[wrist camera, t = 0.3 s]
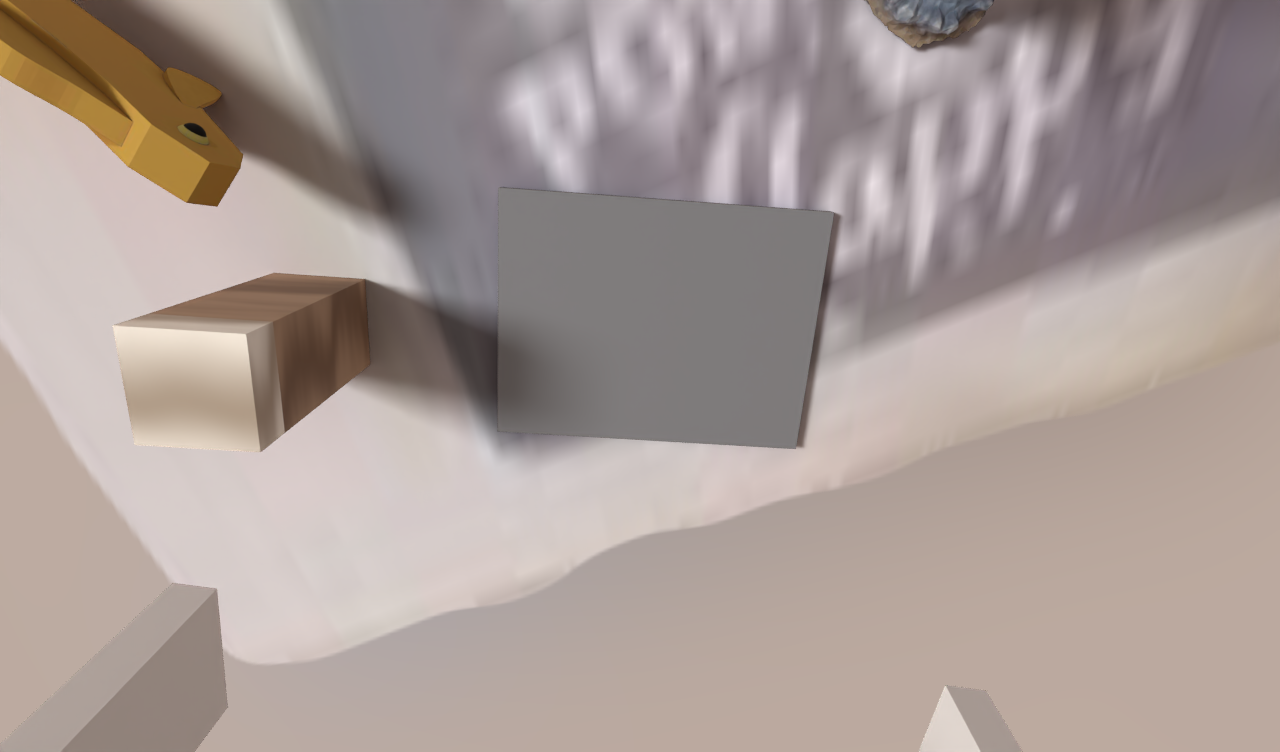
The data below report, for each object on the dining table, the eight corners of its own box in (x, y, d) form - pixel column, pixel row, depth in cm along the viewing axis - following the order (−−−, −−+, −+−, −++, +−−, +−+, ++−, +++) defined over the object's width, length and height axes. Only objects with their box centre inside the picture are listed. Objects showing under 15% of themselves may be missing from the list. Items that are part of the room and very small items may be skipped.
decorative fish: (313, 173, 33) (135, 137, 24) (282, 220, 34) (97, 204, 24) (-9, -115, 33) (-317, -268, 24) (-33, -61, 34) (-343, -189, 24)
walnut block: (273, 272, 36) (112, 325, 25) (365, 279, 37) (246, 334, 25) (282, 358, 38) (134, 445, 27) (370, 364, 38) (260, 452, 27)
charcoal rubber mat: (500, 187, 35) (498, 187, 34) (830, 211, 36) (834, 212, 35) (499, 427, 39) (497, 431, 39) (793, 444, 40) (795, 449, 40)
